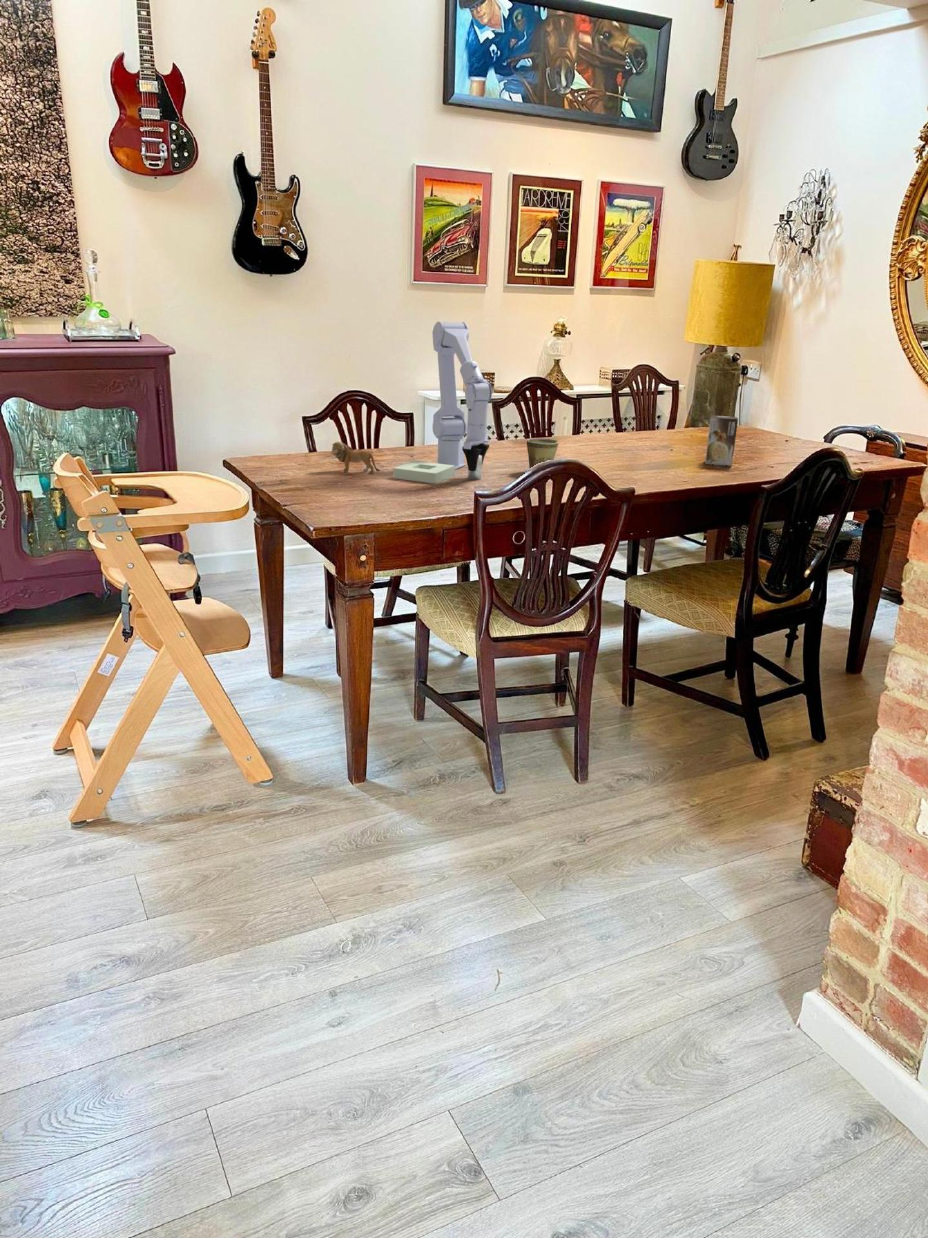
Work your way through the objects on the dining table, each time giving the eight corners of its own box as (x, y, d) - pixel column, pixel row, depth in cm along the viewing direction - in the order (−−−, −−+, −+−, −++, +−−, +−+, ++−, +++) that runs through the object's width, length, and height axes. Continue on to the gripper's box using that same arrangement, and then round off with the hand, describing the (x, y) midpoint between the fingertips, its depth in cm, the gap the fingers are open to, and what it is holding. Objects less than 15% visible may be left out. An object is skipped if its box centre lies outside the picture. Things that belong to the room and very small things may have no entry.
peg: (470, 476, 267) (471, 453, 265) (483, 477, 266) (484, 454, 264) (465, 478, 264) (466, 455, 261) (478, 480, 263) (479, 456, 260)
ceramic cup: (554, 476, 272) (556, 444, 269) (522, 474, 274) (524, 442, 270) (558, 468, 284) (560, 437, 281) (528, 466, 286) (530, 435, 282)
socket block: (413, 469, 273) (414, 460, 272) (454, 475, 268) (455, 465, 267) (393, 477, 261) (393, 467, 260) (435, 483, 256) (436, 473, 255)
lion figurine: (331, 472, 265) (330, 442, 262) (333, 469, 270) (333, 439, 267) (379, 474, 265) (379, 444, 262) (380, 470, 270) (381, 441, 267)
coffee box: (731, 463, 306) (738, 416, 301) (731, 466, 301) (739, 419, 295) (704, 460, 308) (710, 414, 302) (704, 464, 302) (711, 417, 297)
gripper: (480, 428, 251) (478, 475, 256) (498, 422, 264) (495, 466, 269) (457, 426, 254) (456, 472, 259) (476, 419, 266) (474, 464, 271)
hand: (474, 469), depth 264 cm, fingers closed on peg, 4 cm apart
